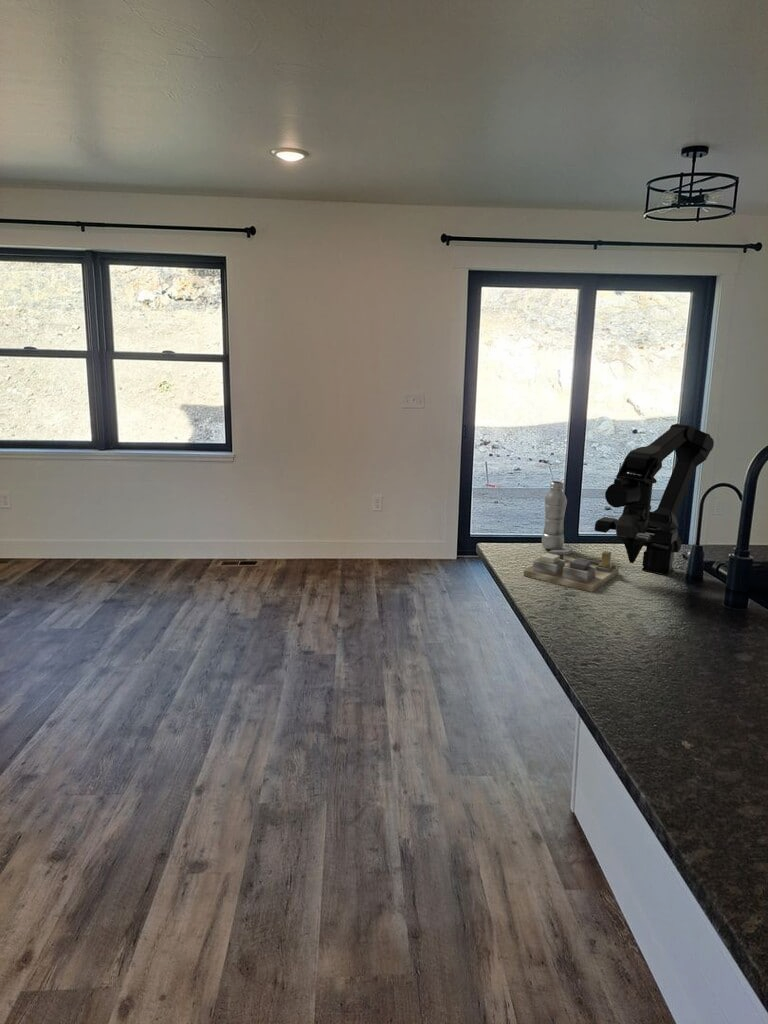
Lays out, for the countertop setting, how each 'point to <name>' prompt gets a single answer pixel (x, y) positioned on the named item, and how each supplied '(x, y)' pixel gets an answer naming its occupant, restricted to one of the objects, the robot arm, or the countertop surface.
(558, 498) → the plastic bottle
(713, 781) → the countertop surface
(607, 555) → the slider
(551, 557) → the cream button
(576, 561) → the charcoal button
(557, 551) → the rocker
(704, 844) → the countertop surface
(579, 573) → the panel
